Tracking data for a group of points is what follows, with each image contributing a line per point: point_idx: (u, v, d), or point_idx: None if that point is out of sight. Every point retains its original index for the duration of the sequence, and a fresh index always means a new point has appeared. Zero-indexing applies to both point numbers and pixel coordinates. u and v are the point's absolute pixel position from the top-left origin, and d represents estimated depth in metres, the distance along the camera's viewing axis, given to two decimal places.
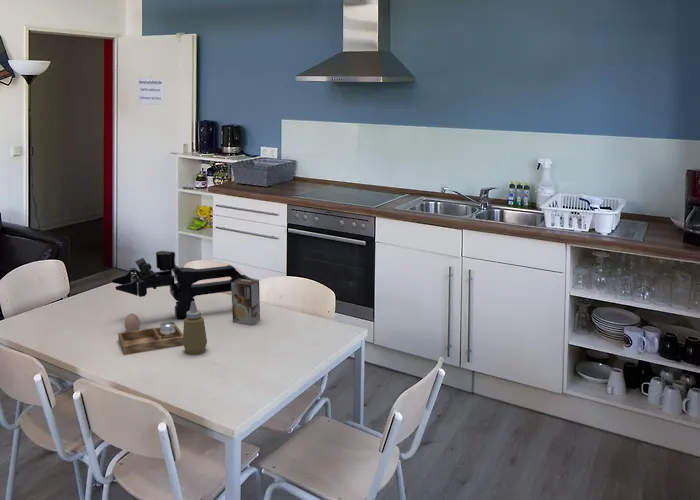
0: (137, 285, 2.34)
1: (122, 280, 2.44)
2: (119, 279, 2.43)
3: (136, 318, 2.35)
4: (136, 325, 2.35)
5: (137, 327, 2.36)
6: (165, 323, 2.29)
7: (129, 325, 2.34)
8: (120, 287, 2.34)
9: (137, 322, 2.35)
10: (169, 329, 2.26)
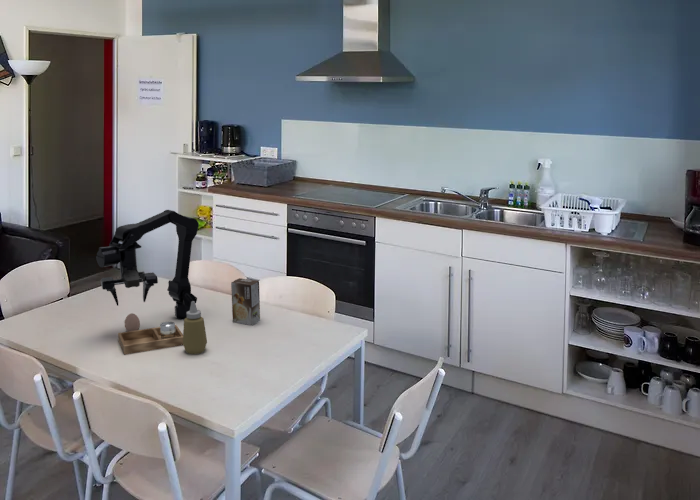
0: None
1: None
2: None
3: (136, 318, 2.35)
4: (136, 325, 2.35)
5: (137, 327, 2.36)
6: (165, 323, 2.29)
7: (129, 325, 2.34)
8: None
9: (137, 322, 2.35)
10: (169, 329, 2.26)
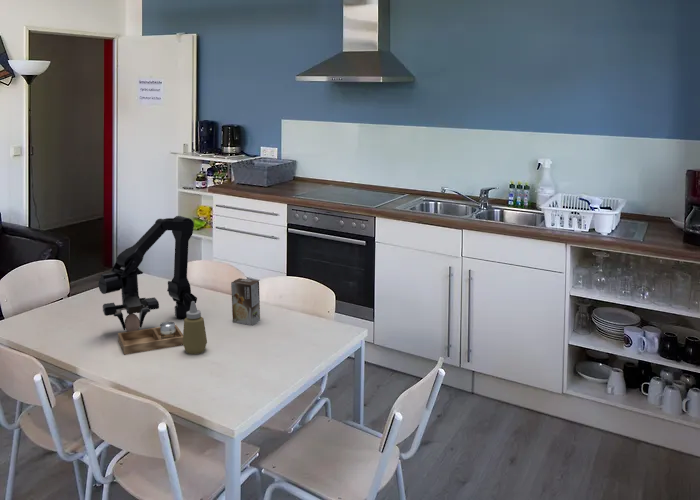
0: None
1: None
2: None
3: (136, 318, 2.35)
4: (136, 325, 2.35)
5: (137, 327, 2.36)
6: (165, 323, 2.29)
7: (129, 325, 2.34)
8: None
9: (137, 322, 2.35)
10: (169, 329, 2.26)
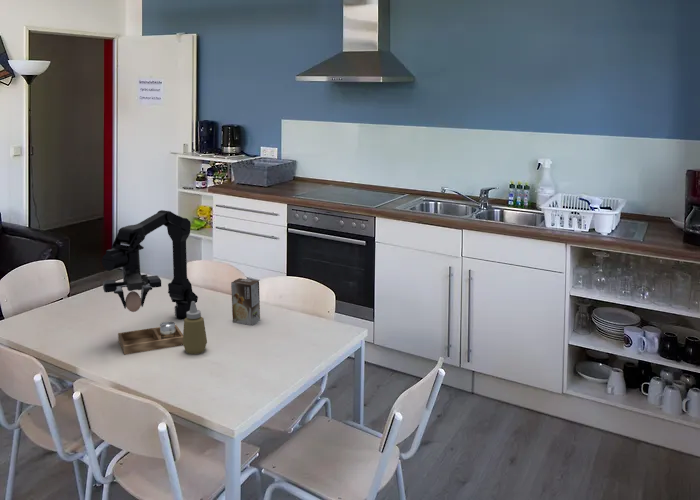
0: None
1: None
2: (124, 301, 2.25)
3: (137, 296, 2.25)
4: (137, 303, 2.25)
5: (138, 306, 2.26)
6: (165, 323, 2.29)
7: (130, 304, 2.24)
8: None
9: (138, 300, 2.25)
10: (169, 329, 2.26)
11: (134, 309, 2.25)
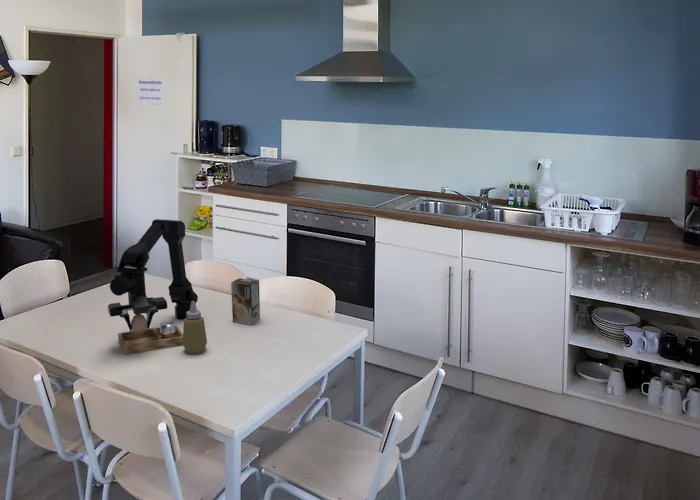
0: (157, 308, 2.24)
1: None
2: (130, 324, 2.22)
3: (143, 319, 2.22)
4: (143, 326, 2.22)
5: (144, 328, 2.23)
6: (165, 323, 2.29)
7: (136, 326, 2.21)
8: None
9: (144, 323, 2.22)
10: (169, 329, 2.26)
11: (140, 332, 2.22)
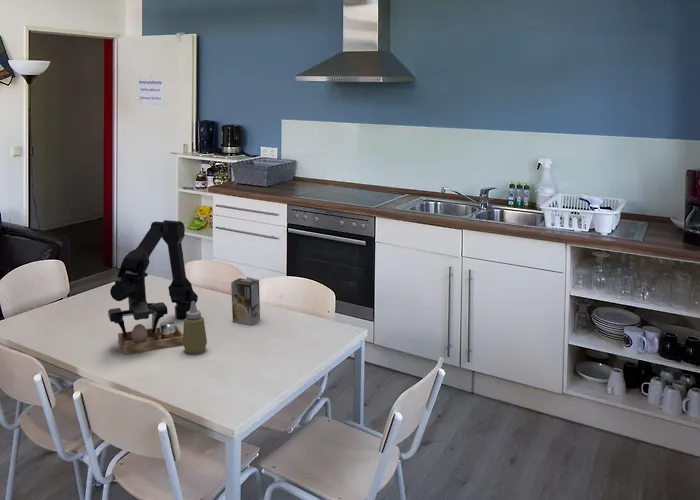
0: None
1: None
2: (125, 330, 2.21)
3: (144, 329, 2.23)
4: (144, 336, 2.23)
5: (145, 339, 2.24)
6: (165, 323, 2.29)
7: (137, 337, 2.22)
8: None
9: (145, 333, 2.23)
10: (169, 329, 2.26)
11: (141, 342, 2.23)
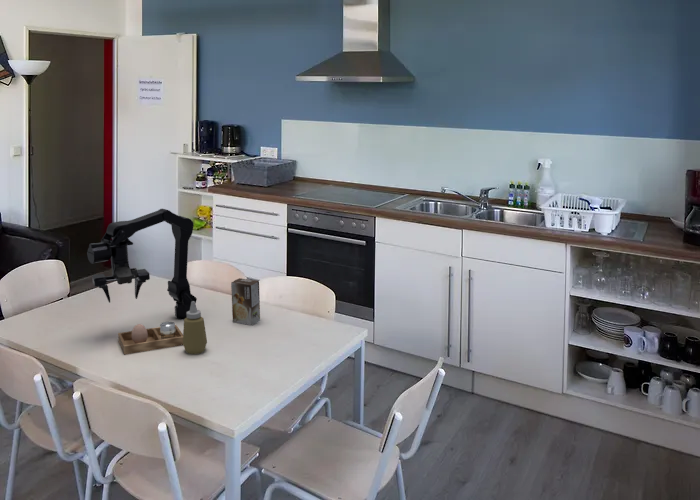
0: None
1: None
2: None
3: (144, 329, 2.23)
4: (144, 336, 2.23)
5: (145, 339, 2.24)
6: (165, 323, 2.29)
7: (137, 337, 2.22)
8: None
9: (145, 333, 2.23)
10: (169, 329, 2.26)
11: (141, 342, 2.23)
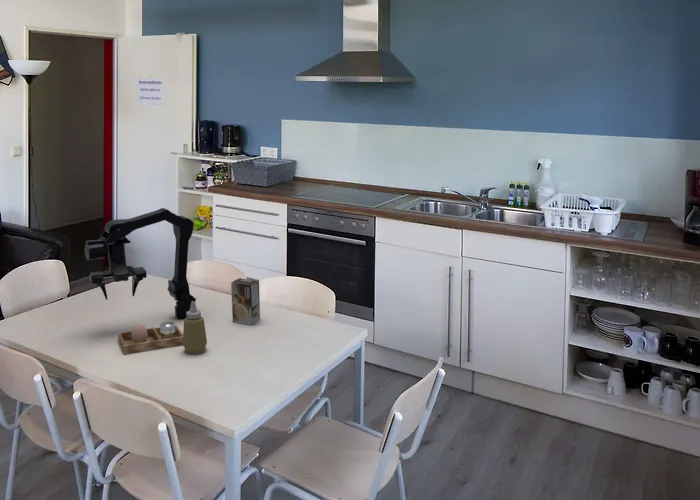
0: None
1: None
2: None
3: (144, 329, 2.23)
4: (144, 336, 2.23)
5: (145, 339, 2.24)
6: (165, 323, 2.29)
7: (137, 337, 2.22)
8: None
9: (145, 333, 2.23)
10: (169, 329, 2.26)
11: (141, 342, 2.23)
